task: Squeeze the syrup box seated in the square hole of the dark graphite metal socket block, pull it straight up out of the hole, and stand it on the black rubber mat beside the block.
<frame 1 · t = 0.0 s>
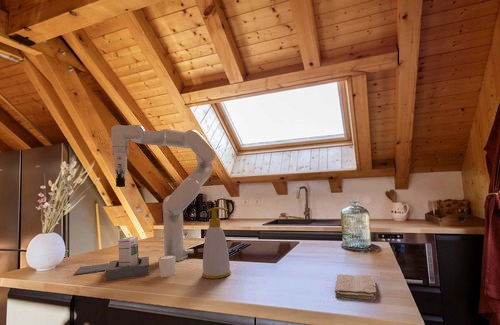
hand: (120, 186, 136), 37 cm above the counter, tool pointing down, fingers open, 9 cm apart
rubber mat: (92, 269, 129), on the counter
socket block: (129, 272, 121), on the counter
syrup box: (129, 273, 121), resting in socket block
soap bottle: (217, 275, 112), on the counter
washcloth: (355, 291, 90), on the counter
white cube: (167, 275, 115), on the counter
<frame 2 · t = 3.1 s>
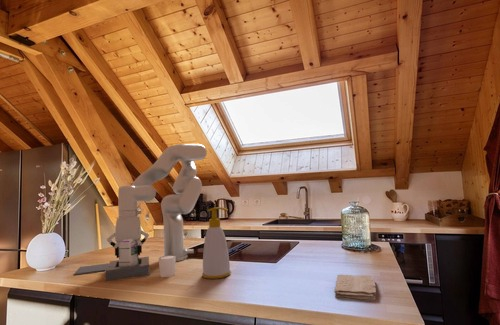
hand: (128, 255, 122), 7 cm above the counter, tool pointing down, fingers closed on syrup box, 7 cm apart
syrup box: (129, 273, 121), resting in socket block, touching gripper
everything else where it was.
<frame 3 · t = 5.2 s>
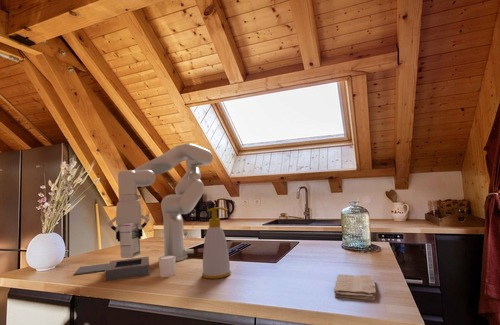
hand: (129, 239, 123), 14 cm above the counter, tool pointing down, fingers closed on syrup box, 7 cm apart
syrup box: (130, 256, 122), point 6 cm above the counter, touching gripper
everything else where it was.
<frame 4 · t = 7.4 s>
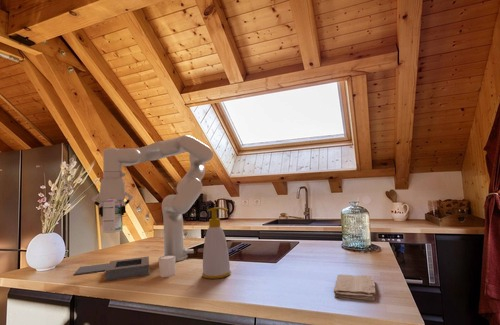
hand: (112, 215, 126), 24 cm above the counter, tool pointing down, fingers closed on syrup box, 7 cm apart
syrup box: (112, 232, 125), point 17 cm above the counter, touching gripper
everything else where it was.
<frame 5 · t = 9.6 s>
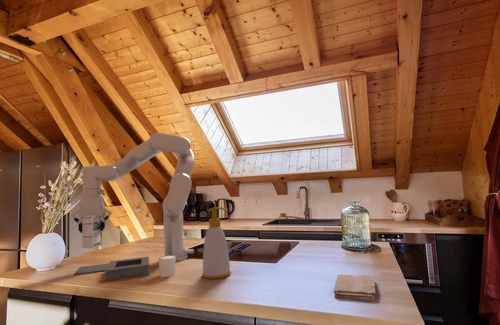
hand: (91, 231, 130), 17 cm above the counter, tool pointing down, fingers closed on syrup box, 7 cm apart
syrup box: (92, 247, 130), point 10 cm above the counter, touching gripper
everything else where it was.
when the fingers open (9 cm above the counter, at t = 11.7 s): syrup box drops 1 cm, resting on rubber mat.
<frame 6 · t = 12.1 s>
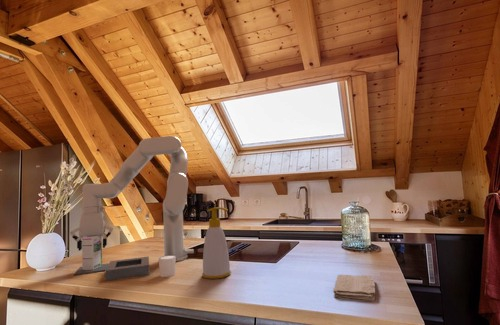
hand: (92, 248, 130), 9 cm above the counter, tool pointing down, fingers open, 9 cm apart
syrup box: (92, 268, 129), resting on rubber mat
everything else where it was.
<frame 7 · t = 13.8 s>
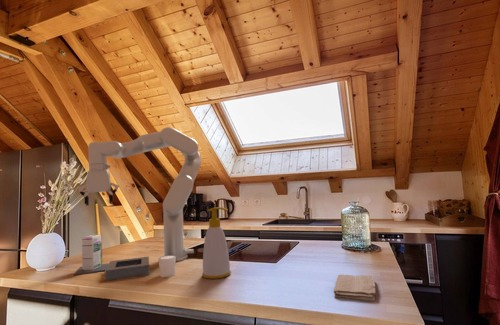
hand: (99, 204, 134), 29 cm above the counter, tool pointing down, fingers open, 9 cm apart
nothing on the counter moved.
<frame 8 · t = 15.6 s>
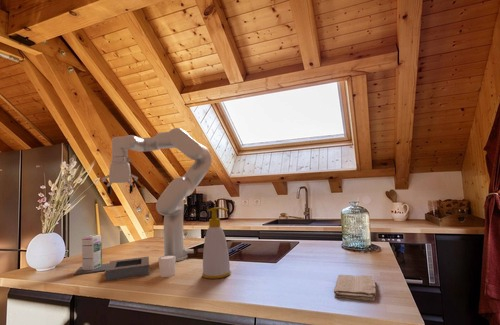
hand: (120, 193, 147), 33 cm above the counter, tool pointing down, fingers open, 9 cm apart
nothing on the counter moved.
at the end: syrup box inside the target area on the rubber mat (0.1 cm from its centre), point 0.4 cm above the rubber mat's base; syrup box tilted 0°; the gripper is holding nothing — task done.
